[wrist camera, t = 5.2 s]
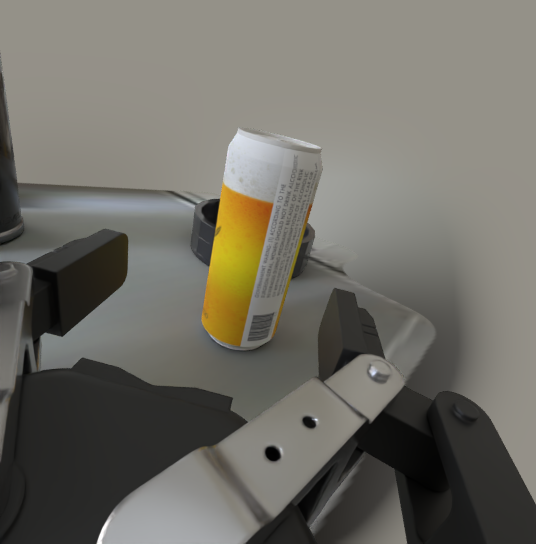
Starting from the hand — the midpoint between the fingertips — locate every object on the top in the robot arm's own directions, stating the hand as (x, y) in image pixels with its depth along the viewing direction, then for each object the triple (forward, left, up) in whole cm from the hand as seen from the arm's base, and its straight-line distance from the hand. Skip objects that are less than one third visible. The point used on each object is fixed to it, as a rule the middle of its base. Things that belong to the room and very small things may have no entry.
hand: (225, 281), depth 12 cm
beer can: (0, +11, -10) cm, 15 cm away
